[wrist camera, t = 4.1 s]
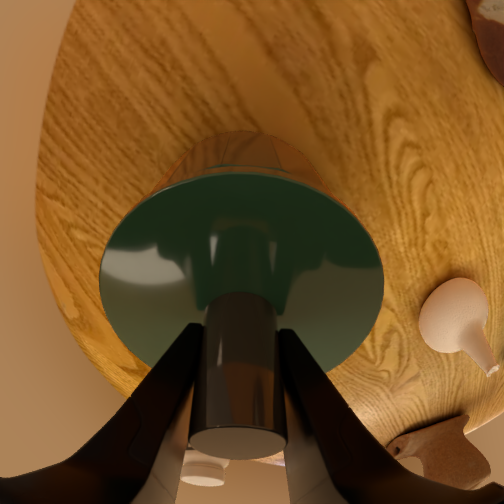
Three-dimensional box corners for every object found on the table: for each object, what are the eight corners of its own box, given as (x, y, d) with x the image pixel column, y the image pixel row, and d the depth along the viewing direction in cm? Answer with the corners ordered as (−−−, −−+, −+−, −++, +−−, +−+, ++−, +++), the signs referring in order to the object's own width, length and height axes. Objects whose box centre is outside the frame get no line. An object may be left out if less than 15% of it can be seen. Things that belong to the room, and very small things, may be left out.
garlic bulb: (411, 338, 23) (444, 414, 16) (414, 286, 20) (462, 370, 13) (469, 315, 22) (508, 381, 15) (479, 261, 19) (534, 331, 12)
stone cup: (480, 398, 33) (509, 473, 20) (447, 432, 39) (467, 497, 27) (404, 420, 33) (428, 513, 20) (376, 451, 39) (391, 527, 27)
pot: (165, 274, 19) (139, 352, 14) (160, 127, 14) (107, 161, 9) (308, 284, 20) (327, 364, 14) (338, 142, 15) (389, 184, 9)
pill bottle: (213, 422, 30) (209, 489, 23) (177, 408, 28) (167, 479, 21) (240, 409, 28) (239, 483, 21) (202, 393, 27) (194, 473, 20)
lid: (133, 362, 13) (105, 468, 8) (94, 155, 8) (-36, 257, 3) (333, 374, 14) (354, 479, 9) (406, 181, 9) (523, 295, 4)
